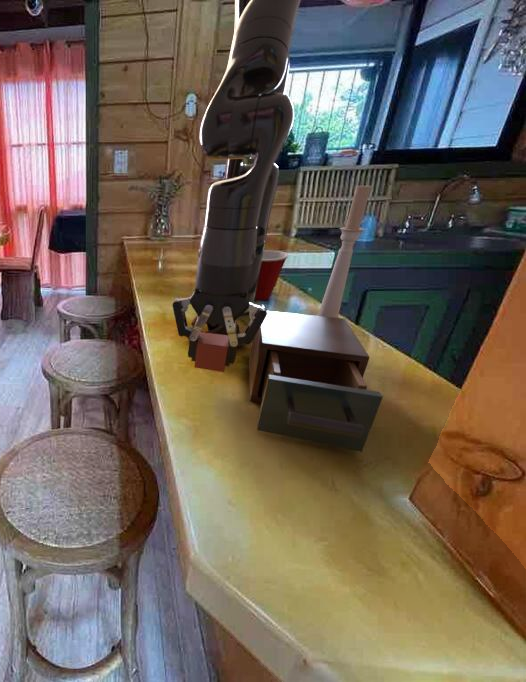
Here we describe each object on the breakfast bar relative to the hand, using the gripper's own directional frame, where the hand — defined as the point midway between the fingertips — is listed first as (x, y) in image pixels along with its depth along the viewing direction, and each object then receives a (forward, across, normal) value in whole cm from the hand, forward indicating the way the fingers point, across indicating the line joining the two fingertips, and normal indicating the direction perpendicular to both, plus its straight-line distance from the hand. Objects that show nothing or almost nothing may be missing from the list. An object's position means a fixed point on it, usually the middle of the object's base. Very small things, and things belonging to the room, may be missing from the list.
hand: (210, 361), depth 61 cm
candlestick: (+4, -19, -20) cm, 28 cm away
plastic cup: (+5, -9, -52) cm, 53 cm away
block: (0, 0, 0) cm, 0 cm away
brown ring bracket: (+4, 0, -17) cm, 17 cm away
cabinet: (+4, -13, -4) cm, 14 cm away
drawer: (+3, -13, +8) cm, 16 cm away
